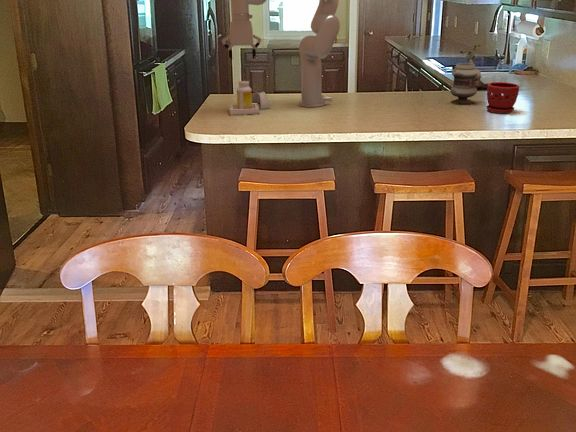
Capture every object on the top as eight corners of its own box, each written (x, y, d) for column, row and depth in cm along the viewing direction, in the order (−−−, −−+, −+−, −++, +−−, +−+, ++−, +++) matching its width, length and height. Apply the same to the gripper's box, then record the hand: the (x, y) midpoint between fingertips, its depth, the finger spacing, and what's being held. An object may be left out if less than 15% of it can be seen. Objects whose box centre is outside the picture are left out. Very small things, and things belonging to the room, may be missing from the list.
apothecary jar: (447, 104, 288) (450, 65, 282) (451, 100, 299) (454, 62, 292) (474, 105, 284) (477, 65, 277) (477, 101, 294) (480, 62, 288)
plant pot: (484, 113, 267) (486, 85, 263) (486, 108, 278) (488, 81, 274) (516, 115, 262) (519, 87, 258) (516, 109, 274) (519, 82, 270)
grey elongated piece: (240, 102, 305) (239, 87, 302) (262, 100, 308) (262, 85, 306) (254, 110, 284) (253, 95, 281) (278, 108, 288) (277, 93, 285)
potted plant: (463, 96, 321) (455, 48, 318) (454, 99, 340) (446, 53, 337) (501, 89, 320) (493, 40, 318) (490, 92, 339) (482, 46, 336)
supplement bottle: (255, 109, 281) (254, 81, 276) (247, 112, 275) (246, 83, 270) (242, 108, 283) (241, 80, 279) (234, 111, 278) (233, 82, 273)
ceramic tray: (258, 109, 286) (258, 103, 285) (259, 114, 274) (259, 108, 273) (230, 109, 285) (229, 104, 284) (229, 115, 273) (229, 109, 272)
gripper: (260, 17, 269) (261, 57, 275) (220, 18, 268) (222, 58, 274) (260, 17, 262) (262, 59, 268) (220, 19, 261) (222, 60, 267)
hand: (242, 58), depth 271 cm, fingers open, 9 cm apart
